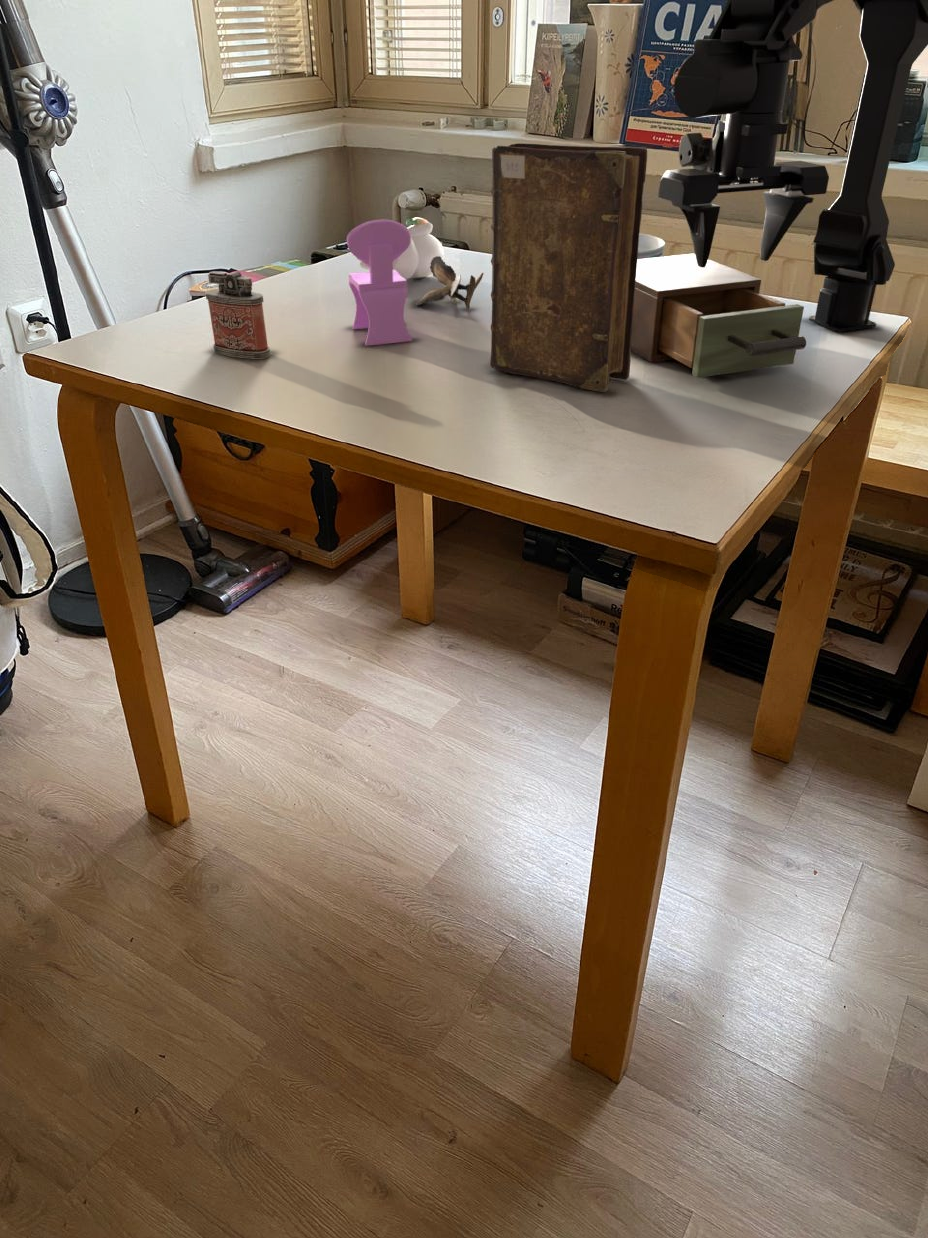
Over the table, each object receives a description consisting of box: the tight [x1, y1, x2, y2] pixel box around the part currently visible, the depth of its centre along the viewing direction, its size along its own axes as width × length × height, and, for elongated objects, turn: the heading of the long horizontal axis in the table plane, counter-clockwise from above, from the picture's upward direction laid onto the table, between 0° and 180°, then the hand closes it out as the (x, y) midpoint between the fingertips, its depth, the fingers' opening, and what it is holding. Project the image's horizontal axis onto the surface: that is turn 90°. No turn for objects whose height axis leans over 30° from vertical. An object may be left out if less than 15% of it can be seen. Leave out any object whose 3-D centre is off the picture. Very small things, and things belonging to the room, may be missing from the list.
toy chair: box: [346, 218, 413, 347], centre depth 124 cm, size 8×9×15 cm
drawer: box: [658, 288, 807, 379], centre depth 113 cm, size 20×13×7 cm
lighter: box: [204, 270, 271, 360], centre depth 119 cm, size 8×3×10 cm, turn 65°
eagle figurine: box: [415, 256, 485, 311], centre depth 138 cm, size 8×7×9 cm
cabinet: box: [631, 253, 762, 363], centre depth 123 cm, size 16×15×9 cm
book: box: [489, 142, 648, 393], centre depth 107 cm, size 17×7×25 cm, turn 54°
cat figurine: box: [359, 216, 445, 281], centre depth 151 cm, size 10×8×15 cm
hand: (733, 263), depth 109 cm, fingers open, 8 cm apart
